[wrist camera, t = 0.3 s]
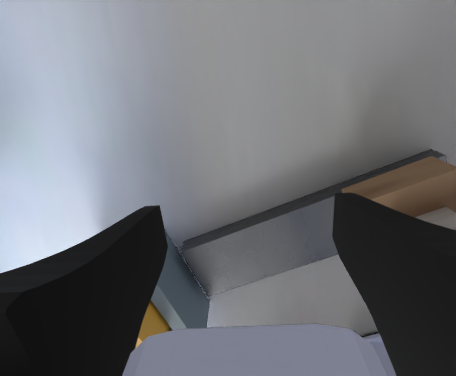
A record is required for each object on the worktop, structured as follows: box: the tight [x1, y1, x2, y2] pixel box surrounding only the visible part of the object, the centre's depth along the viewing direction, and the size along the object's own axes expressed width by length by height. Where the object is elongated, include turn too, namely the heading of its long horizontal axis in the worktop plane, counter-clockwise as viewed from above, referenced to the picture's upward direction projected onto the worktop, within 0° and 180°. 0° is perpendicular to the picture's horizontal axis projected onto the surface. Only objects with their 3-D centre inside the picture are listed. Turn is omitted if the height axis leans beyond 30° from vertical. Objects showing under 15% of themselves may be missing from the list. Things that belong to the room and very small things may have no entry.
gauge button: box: [135, 300, 170, 349], centre depth 20 cm, size 3×3×4 cm
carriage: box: [341, 156, 456, 230], centre depth 17 cm, size 6×6×6 cm
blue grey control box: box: [151, 232, 209, 331], centre depth 23 cm, size 9×6×5 cm, turn 24°
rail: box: [181, 149, 447, 296], centre depth 22 cm, size 5×20×2 cm, turn 114°
